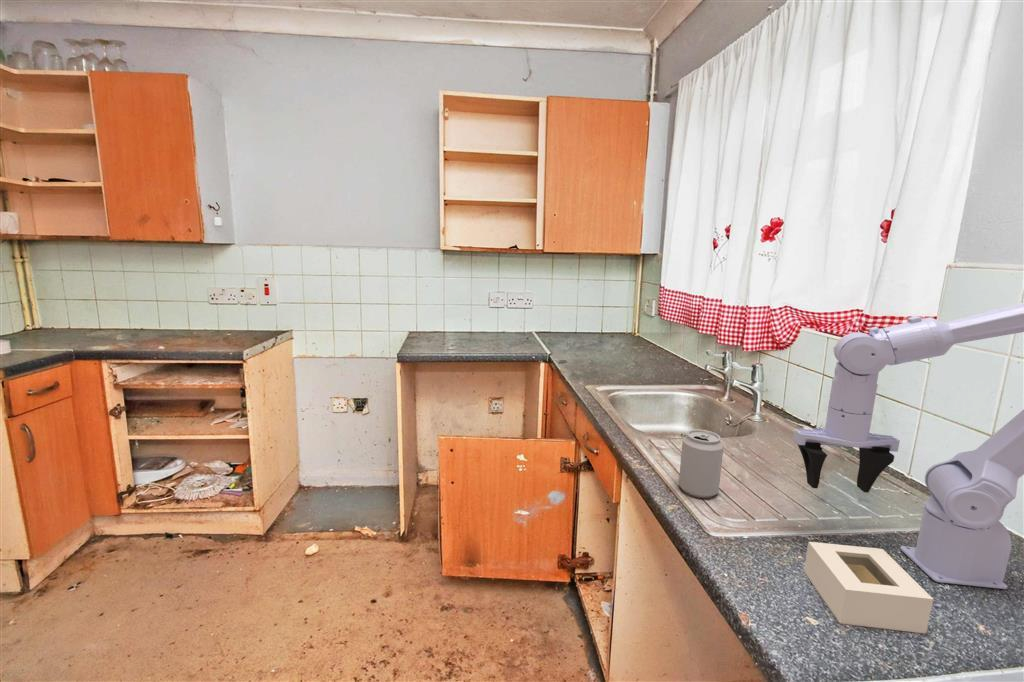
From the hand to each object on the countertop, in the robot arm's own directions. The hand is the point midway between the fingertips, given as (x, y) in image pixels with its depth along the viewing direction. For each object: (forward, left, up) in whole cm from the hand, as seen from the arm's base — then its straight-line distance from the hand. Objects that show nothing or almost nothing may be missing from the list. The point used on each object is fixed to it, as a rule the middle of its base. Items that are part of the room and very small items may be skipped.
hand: (837, 487), depth 76 cm
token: (+3, +14, -10) cm, 18 cm away
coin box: (+3, +15, -9) cm, 18 cm away
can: (+18, -13, -10) cm, 24 cm away
